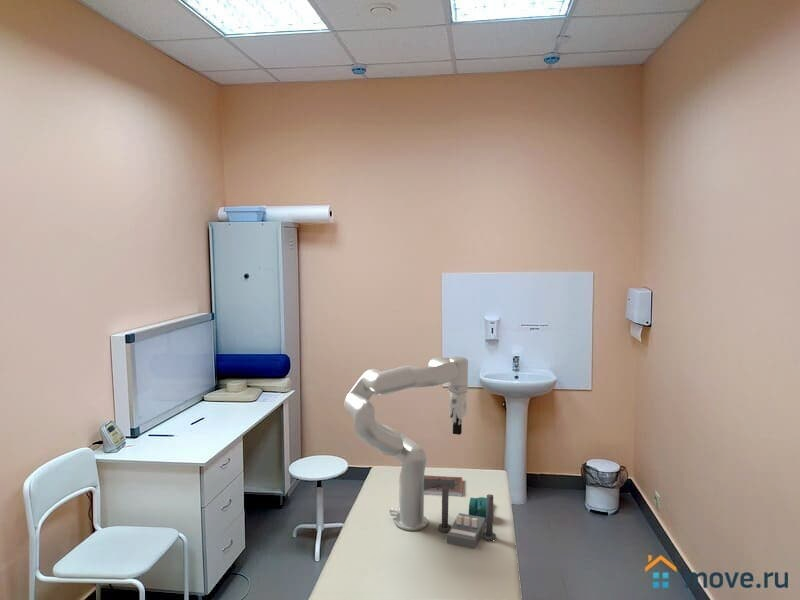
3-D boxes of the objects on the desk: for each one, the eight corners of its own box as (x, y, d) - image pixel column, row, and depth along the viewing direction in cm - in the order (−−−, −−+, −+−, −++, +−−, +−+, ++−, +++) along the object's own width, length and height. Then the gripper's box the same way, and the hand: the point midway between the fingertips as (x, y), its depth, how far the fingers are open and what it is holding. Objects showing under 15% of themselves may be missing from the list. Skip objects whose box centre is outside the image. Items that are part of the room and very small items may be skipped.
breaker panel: (446, 542, 203) (446, 534, 202) (459, 520, 219) (459, 512, 219) (474, 548, 199) (474, 539, 199) (485, 525, 216) (485, 517, 215)
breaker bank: (456, 524, 210) (456, 516, 209) (457, 522, 211) (457, 515, 211) (476, 527, 207) (476, 520, 207) (477, 526, 208) (477, 518, 208)
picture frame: (412, 495, 243) (462, 497, 241) (412, 489, 243) (462, 492, 240) (415, 479, 259) (462, 482, 257) (415, 474, 259) (462, 476, 257)
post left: (436, 531, 211) (437, 490, 209) (440, 525, 215) (440, 484, 214) (449, 533, 209) (450, 492, 207) (452, 527, 214) (453, 486, 212)
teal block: (485, 523, 217) (486, 504, 217) (468, 521, 219) (469, 501, 219) (492, 503, 234) (492, 485, 234) (476, 501, 236) (476, 483, 236)
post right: (480, 540, 205) (481, 497, 203) (483, 533, 209) (484, 491, 208) (494, 542, 203) (495, 499, 201) (497, 536, 208) (498, 494, 206)
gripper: (462, 394, 212) (461, 440, 214) (471, 385, 226) (470, 429, 228) (443, 392, 215) (442, 438, 216) (453, 383, 229) (452, 427, 230)
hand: (457, 433), depth 222 cm, fingers closed
